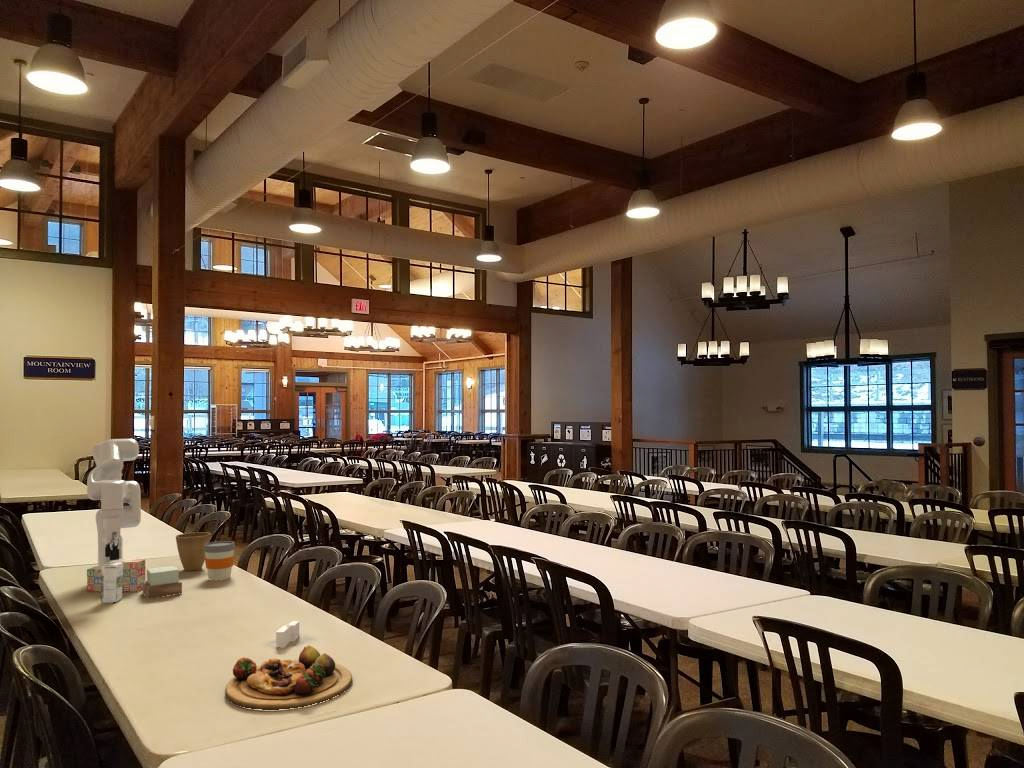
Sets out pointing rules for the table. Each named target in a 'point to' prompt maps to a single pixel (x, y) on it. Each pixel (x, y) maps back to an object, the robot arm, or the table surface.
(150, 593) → the tower base block
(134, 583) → the stack of blocks
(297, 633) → the napkin holder
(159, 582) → the tower top block
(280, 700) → the wooden plate with food
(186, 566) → the plant pot
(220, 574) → the reusable coffee cup
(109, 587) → the syrup box
